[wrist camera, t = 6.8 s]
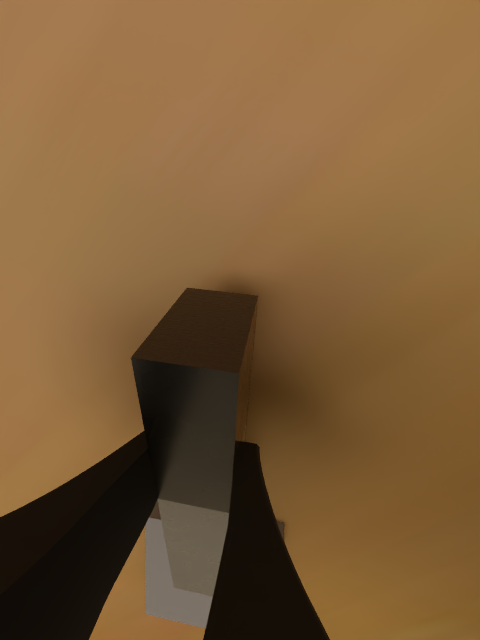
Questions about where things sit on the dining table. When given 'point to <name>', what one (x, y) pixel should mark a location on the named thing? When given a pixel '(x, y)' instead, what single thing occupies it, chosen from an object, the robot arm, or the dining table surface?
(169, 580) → the tile
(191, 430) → the tall grey pillar block
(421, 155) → the dining table surface
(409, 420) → the dining table surface
